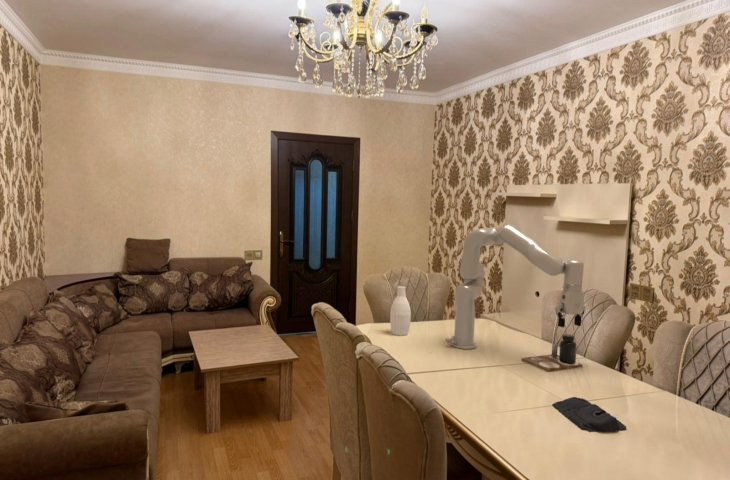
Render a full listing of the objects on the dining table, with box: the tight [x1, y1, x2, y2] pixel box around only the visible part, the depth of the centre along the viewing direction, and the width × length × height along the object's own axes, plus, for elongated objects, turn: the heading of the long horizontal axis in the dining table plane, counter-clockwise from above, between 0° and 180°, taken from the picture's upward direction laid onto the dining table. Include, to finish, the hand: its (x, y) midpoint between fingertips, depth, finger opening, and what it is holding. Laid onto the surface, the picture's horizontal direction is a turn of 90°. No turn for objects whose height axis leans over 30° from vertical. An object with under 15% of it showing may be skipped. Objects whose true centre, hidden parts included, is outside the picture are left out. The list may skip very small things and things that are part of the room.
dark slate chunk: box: [551, 396, 627, 433], centre depth 159 cm, size 15×22×5 cm
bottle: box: [389, 285, 412, 337], centre depth 258 cm, size 11×11×25 cm
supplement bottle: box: [558, 333, 577, 364], centre depth 214 cm, size 7×7×12 cm
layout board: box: [521, 343, 583, 372], centre depth 215 cm, size 20×16×7 cm
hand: (569, 326), depth 213 cm, fingers open, 9 cm apart
